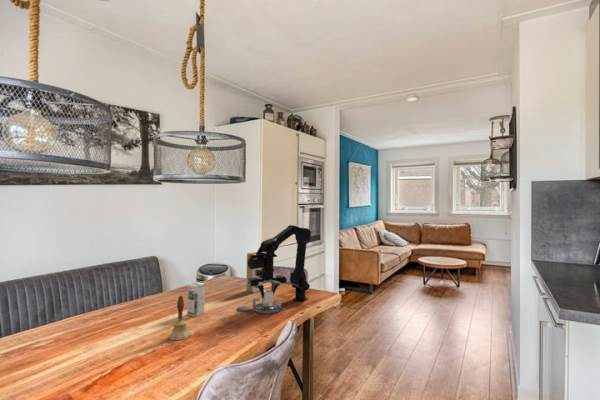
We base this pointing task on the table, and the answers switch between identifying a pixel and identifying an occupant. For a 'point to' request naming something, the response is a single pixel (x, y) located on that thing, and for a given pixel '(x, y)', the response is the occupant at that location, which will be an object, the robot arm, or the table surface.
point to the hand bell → (180, 324)
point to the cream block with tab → (268, 297)
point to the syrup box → (196, 299)
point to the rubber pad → (243, 309)
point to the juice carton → (251, 275)
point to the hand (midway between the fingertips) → (267, 297)
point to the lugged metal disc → (266, 307)
